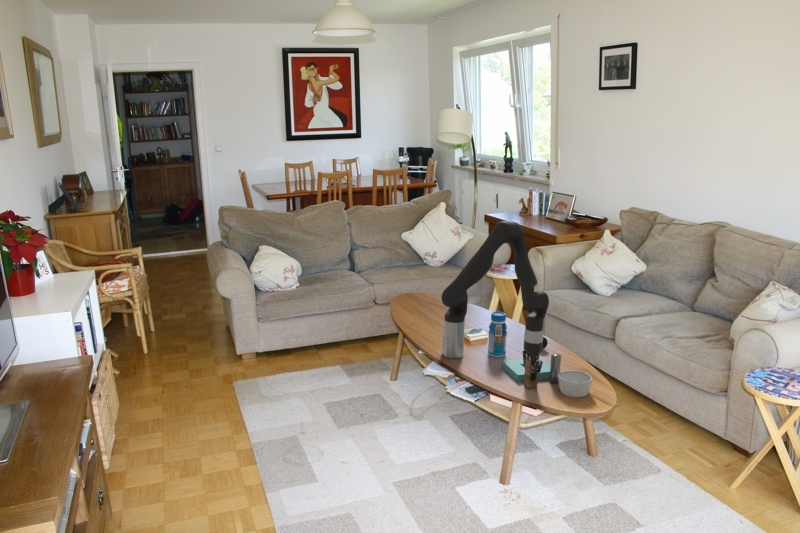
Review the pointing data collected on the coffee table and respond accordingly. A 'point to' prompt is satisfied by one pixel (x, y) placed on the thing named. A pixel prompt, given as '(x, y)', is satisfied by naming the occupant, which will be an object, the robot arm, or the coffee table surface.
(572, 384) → the ramekin
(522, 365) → the socket block
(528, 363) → the square peg
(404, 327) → the coffee table surface
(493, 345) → the beverage bottle
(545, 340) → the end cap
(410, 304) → the coffee table surface
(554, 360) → the round peg
